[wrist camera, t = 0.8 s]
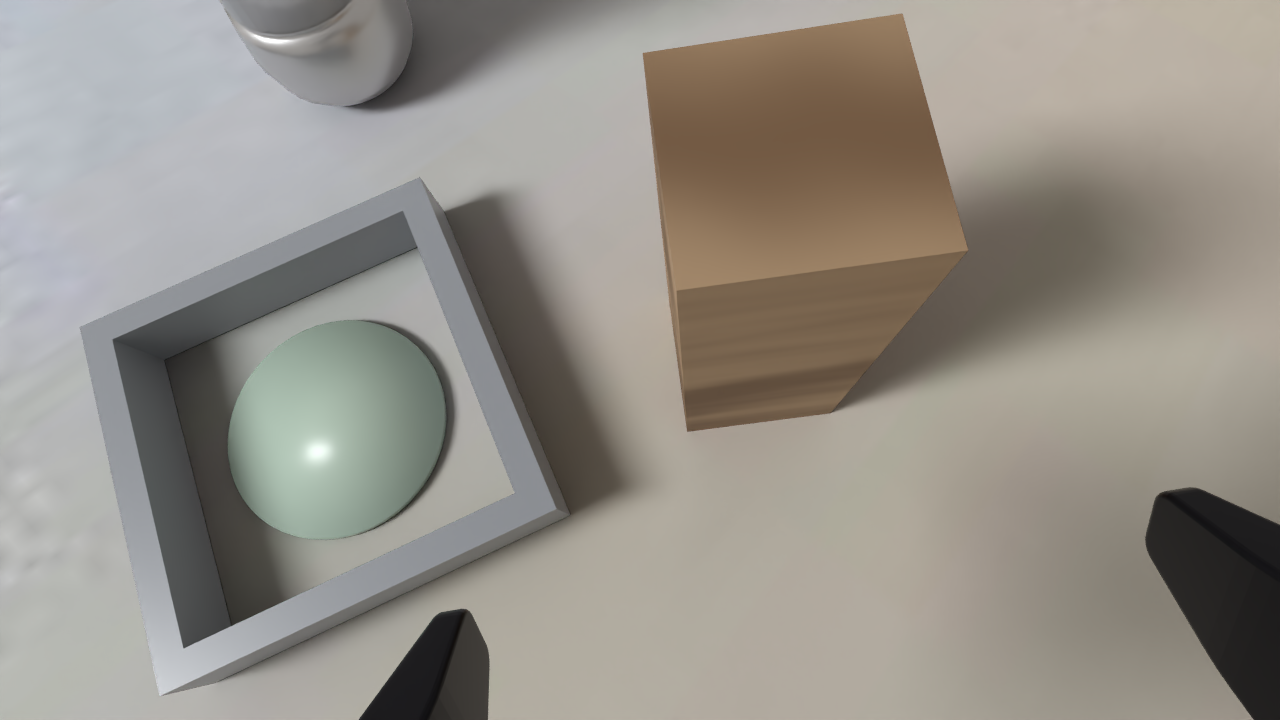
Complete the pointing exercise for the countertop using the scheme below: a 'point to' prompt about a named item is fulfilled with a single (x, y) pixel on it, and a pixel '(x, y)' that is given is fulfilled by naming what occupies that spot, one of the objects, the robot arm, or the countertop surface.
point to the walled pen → (304, 435)
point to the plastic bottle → (326, 45)
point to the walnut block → (795, 212)
